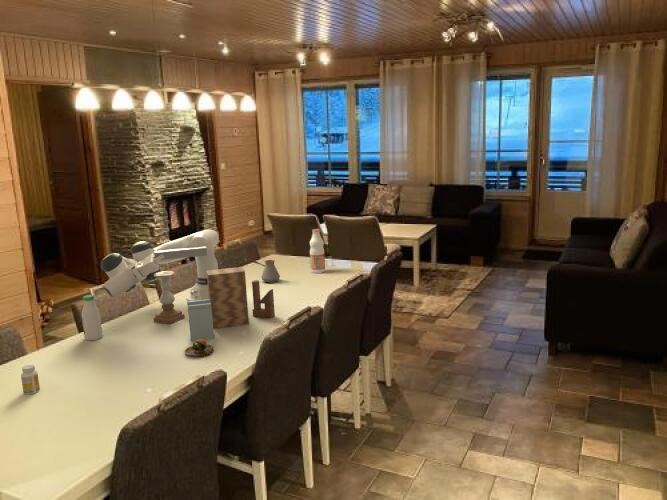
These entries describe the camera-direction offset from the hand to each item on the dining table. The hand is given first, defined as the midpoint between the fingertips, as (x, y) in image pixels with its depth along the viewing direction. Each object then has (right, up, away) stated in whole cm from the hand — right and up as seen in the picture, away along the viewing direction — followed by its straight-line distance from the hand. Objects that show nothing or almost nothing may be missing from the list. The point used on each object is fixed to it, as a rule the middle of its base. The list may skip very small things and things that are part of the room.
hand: (163, 254), depth 258 cm
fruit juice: (+67, -13, +111) cm, 131 cm away
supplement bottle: (-32, -50, -52) cm, 79 cm away
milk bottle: (-33, -39, +3) cm, 51 cm away
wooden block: (+43, -31, +23) cm, 58 cm away
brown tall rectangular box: (+28, -34, +15) cm, 46 cm away
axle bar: (+7, -1, +2) cm, 8 cm away
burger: (+21, -42, -21) cm, 51 cm away
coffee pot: (+34, -18, +92) cm, 100 cm away
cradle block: (+18, -37, -2) cm, 42 cm away
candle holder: (-5, -33, +25) cm, 42 cm away
